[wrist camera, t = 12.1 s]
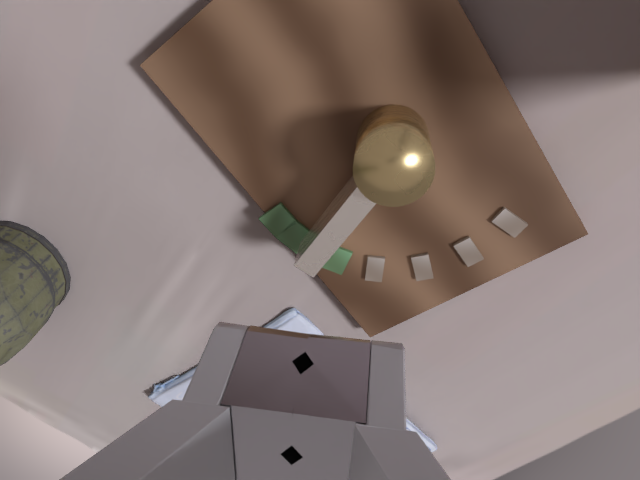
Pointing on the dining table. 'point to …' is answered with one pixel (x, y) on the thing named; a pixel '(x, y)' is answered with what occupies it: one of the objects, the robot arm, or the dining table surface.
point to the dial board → (341, 135)
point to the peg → (373, 180)
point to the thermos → (27, 285)
